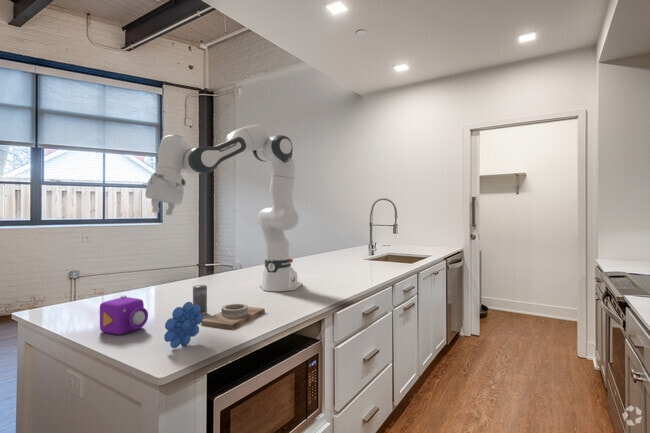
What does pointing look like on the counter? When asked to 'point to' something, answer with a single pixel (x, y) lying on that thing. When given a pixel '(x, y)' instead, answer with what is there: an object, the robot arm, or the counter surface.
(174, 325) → the blue lumpy cluster
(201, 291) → the grey rounded cylinder
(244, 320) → the mount
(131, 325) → the toy camera
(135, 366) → the counter surface
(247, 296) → the counter surface
